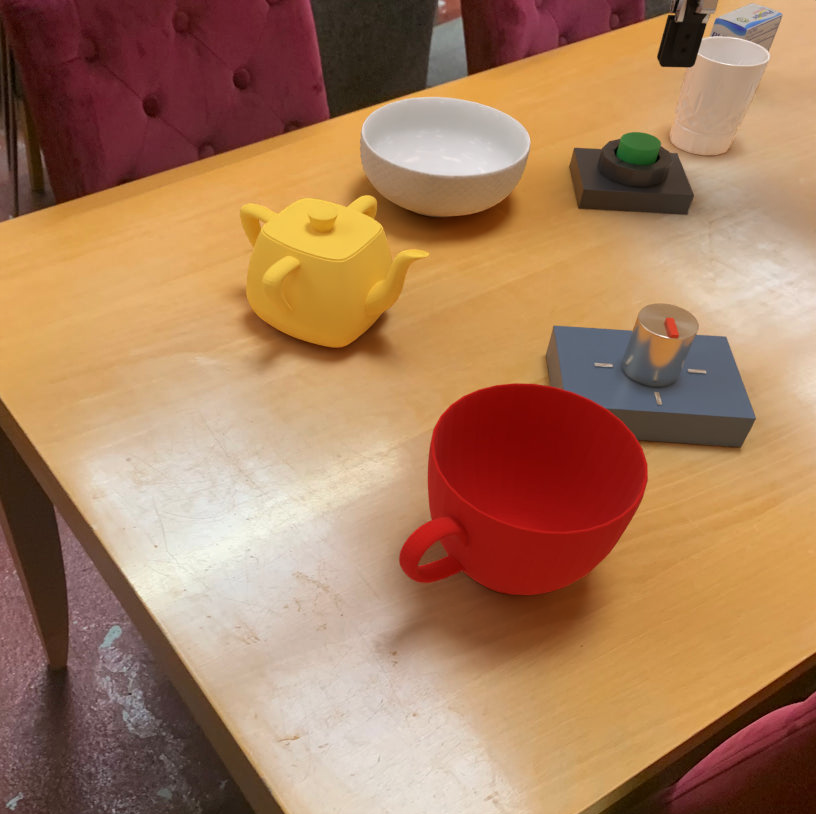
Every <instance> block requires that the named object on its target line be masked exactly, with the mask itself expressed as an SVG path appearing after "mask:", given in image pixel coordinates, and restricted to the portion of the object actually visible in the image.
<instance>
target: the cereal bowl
mask: <svg viewBox="0 0 816 814" xmlns="http://www.w3.org/2000/svg"><path fill="white" fill-rule="evenodd" d="M531 143H532V142H531V137H530V133H529V132H528V130H527V129H526V127H525V126H524V125H523V124H522V123H521V122H520V121H518V120H517V119H516V118H514V116H513V117H512V115H509V114H508V113H506V112H504V111H502V110H499V109H497V108H495V107H493V106H489V105H486V104H483V103H480V102H476V101H472V100H467V99H461V98H454V97H447V96H446V97H443V96H422V97H421V96H420V97H410V98H405V99H400V100H395V101H392V102H390V103H387V104H385V105H382V106H381V107H378V108H376V109H375V110H374V111H372V112H371V113H370V114H369V115H368V116H367V117H366V118H365V120H364V122H363V123H362V126H361V131H360V139H359V144H360V145H359V151H360V152H359V153H360V160H361V161H360V162H361V165H362V170H363V172H364V173H365V174H364V175H365V176H366V178H367V180H368V182H370V184H371V186H372V187H373V188H374V189H375V190H376V191H377V192H378V193H379V195H381V196H382V197H383V198H384V199H386V200H388V201H389V202H391V203H393V204H395V205H396V206H399V207H400V208H403V209H405V210H408V211H411V212H413V213H414V214H418V215H421V216H424V217H431V218H452V217H457V216H458V217H460V216H468V215H472V214H477V213H480V212H483V211H485V210H488V209H490V208H492V207H495V206H496V205H498V204H500V203H501V202H503V200H505V199H506V198H507V197H508V196H510V195H511V194H512V192H513V191H514V190H515V189H516V187H517V186H518V184H519V183H520V181H521V180H522V177H523V175H524V172H525V170H526V165H527V163H528V160H529V156H530V155H529V154H530V152H531Z"/></svg>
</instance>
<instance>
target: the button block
mask: <svg viewBox="0 0 816 814" xmlns="http://www.w3.org/2000/svg"><path fill="white" fill-rule="evenodd" d="M620 139H621V138H617V139H614V140H613V139H612V140H609V141H607V143H605V145H603V146H602V148H589V147H573V150H572V153H571V158H570V162H569V166H568V168H569V171H570V176H571V181H572V185H573V191H574V194H575V199H576V204H577V207H578V209H579V210H593V211H594V210H595V211H612V212H613V211H614V212H629V213H630V212H631V213H647V214H665V215H667V214H668V215H681V216H683V215H684V216H687V215H688V213H689V210H690V208H691V205H692V203H693V199H694V197H695V194H694V192H693V189H692V186H691V184H690V181H689V179H688V176H687V174H686V171H685V168H684V166H683V164H682V160H681V159H680V156H679V154H678V152H670V151H669V150H667V149H666V148H665V147H663V146H662V145H661V146H660V150H659V153H658V156H657V159H656V162H655V163H654V164H649V165H635V164H631V163H628V162H625V161H622V160H621V159H619V158H618V157H617V156H616V153H617V150H618V146H619V143H620Z"/></svg>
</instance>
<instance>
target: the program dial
mask: <svg viewBox="0 0 816 814" xmlns="http://www.w3.org/2000/svg"><path fill="white" fill-rule="evenodd" d="M636 316H637V317H636V320H635V322H634V324H633V325H634V326H633V328H632V334H631V336H630V339H629V342H628V345H627V348H626V351H625V353H624V356H623V359H622V363H621V365H622V369H623V371H624V372H625V374H626V375H627V376H628V377H629V378H631V379H632V380H634V381H636V382H638V383H640V384H643V385H647V386H652V387H663V386H668V385H670V384H672V383H674V382H675V381H676V380H677V379H678V377H679V375H680V372H681V370H682V368H683V365H684V363H685V360H686V358H687V356H688V353H689V351H690V348H691V346H692V344H693V341H694V339H695V336H696V335H698V332H699V329H700V328H699V327H700V325H699V321H698V320H697V317H696V316H695V315H693V313H691V312H690V311H688V310H687V309H685V308H683V307H681V306H677V305H674V304H670V303H652V304H648V305H645V306H643V307H642V308H641V309H640V310H639V312H638V314H637V315H636Z"/></svg>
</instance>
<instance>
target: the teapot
mask: <svg viewBox="0 0 816 814" xmlns="http://www.w3.org/2000/svg"><path fill="white" fill-rule="evenodd" d="M377 211H378V201H377V199H376V198H375V197H374V196H372V195H369V194H366V195H361V196H360V197H358V198H356V199H355V200H354V201H352V202H351V203H350V204H349V205H348V206H345V205H342V204H338V203H335V202H332V201H329V200H324V199H320V198H313V197H312V198H311V197H304V198H300V199H298V200H296V201H294V202H293V203H290V204H289V205H288V206H286V207H284V209H283V210H281V211H279V212H278V213H277V212H275V211H274V210H271V208H268V207H266V206H264V205H261V204H258V203H255V202H254V203H253V202H247V203H246V204H243V205H242V206H241V208H240V210H239V220H240V223H241V225H242V229H243V231H244V232H245V235H246V237H247V239H248V241H249V243H250V244H251V246H252V251H251V256H250V259H249V262H248V268H247V274H246V284H245V285H246V286H245V287H246V289H245V290H246V291H245V292H246V293H245V294H246V298H247V302H248V304H249V306H250V307H251V309H252V311H253V312H254V313H255V314H256V316H257V317H258V318H259V319H261V320H262V321H263V322H265V323H266V324H268V325H270V326H271V327H273V328H274V329H276V330H278V331H280V332H282V333H284V334H286V335H288V336H289V337H293V338H295V339H298V340H301V341H304V342H308V343H311V344H315V345H318V346H324V347H328V348H343V347H346V346H348V345H350V344H351V343H353V342H355V340H357V339H358V338H359V337H360V336H362V335H363V334H365V332H366V331H367V330H369V329H370V328H371V327H372V326H373V325H374V324H375V323H376V321H377V320H378V319H379V318H380V317H381V316H382V314H383V313H384V312H386V311H388V310H389V309H390V308H392V307H393V306H394V305H395V303H397V301H398V300H399V298H400V296H401V294H402V293H403V289H404V286H405V281H406V276H407V274H408V273H407V272H408V270H409V268H410V267H411V265H412V264H413V263H415V262H416V261H419V260H422V259H425V258H427V257H429V255H430V253H429V252H428V251H425V250H422V249H414V248H413V249H411V248H410V249H405V250H402V251H400V252H398V254H396V255H395V257H394V258H393V256H392V253H391V248H390V245H389V242H388V238H387V235H386V232H385V228H384V227H383V226H382V224H381V223H380V222H378V221H377V220H376V215H377ZM260 221H261V222H262V223H264V225H263V226H261V224H260V223H261V222H260Z"/></svg>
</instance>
